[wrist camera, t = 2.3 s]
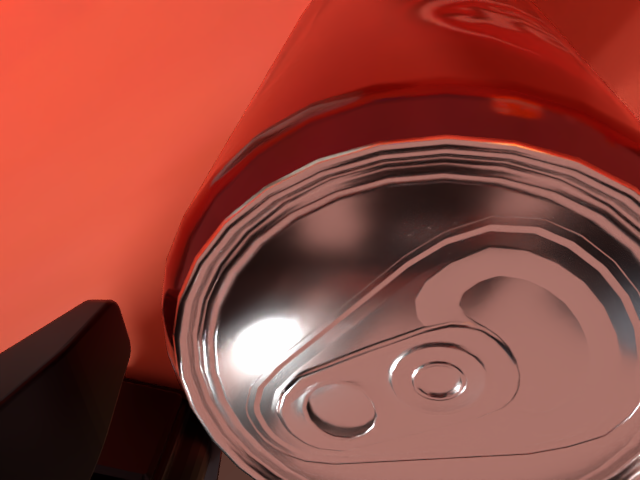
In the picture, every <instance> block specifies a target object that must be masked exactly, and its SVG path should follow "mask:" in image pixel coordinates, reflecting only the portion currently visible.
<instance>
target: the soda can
mask: <svg viewBox="0 0 640 480" xmlns="http://www.w3.org/2000/svg"><path fill="white" fill-rule="evenodd" d="M161 306H162V316H163V324H164V332H165V340H166V348H167V353H168V355H169V358H170V361H171V363H172V366H173V369H174V371H175V374H176V377H177V379H178V382H179V385H180V387H181V389H182V390H183V392H184V394H185V395H186V397H187V400H188V402H189V405H190V407H191V409H192V410H193V412H194V414H195V415H196V417H197V418H198V420H199V421H200V423H201V424H202V426H203V427H204V429H205V430H206V432H207V434H208V435H209V437H210V438H211V440H212V441H213V442H214V443H215V444H216V445H217V446H218V447H219V448H220V449H221V450H222V451H223V452H224V454H225V455H226V456H228V458H229V459H230V460H231V461H232V462H233V463H234V464H235V465H236V466H237V467H238V468H239V469H241V470H242V471H243V472H245V473H246V474H247V475H249V476H250V477H251V478H253V479H254V480H640V122H639V120H638V119H637V118H636V117H635V116H634V115H633V114H632V113H631V111H630V110H629V109H628V108H627V107H626V106H625V105H624V104H623V103H622V101H621V100H620V99H619V98H618V97H617V96H616V95H615V94H614V92H613V91H612V90H611V89H610V88H609V87H608V86H607V85H606V84H605V82H604V81H603V80H602V79H601V78H600V77H599V76H598V75H597V73H596V72H595V71H594V70H593V69H592V68H591V67H590V66H589V65H588V63H587V62H586V61H585V60H584V59H583V58H582V57H581V56H580V55H579V53H578V52H577V51H576V50H575V49H574V48H573V47H572V46H571V44H570V43H569V42H568V41H567V40H566V39H565V38H564V37H563V36H562V34H561V33H560V32H559V31H558V30H557V29H556V28H555V27H554V25H553V24H552V23H551V22H550V21H549V20H548V19H547V18H546V17H545V15H544V14H543V13H542V12H541V11H540V10H539V9H538V8H537V6H536V5H535V4H534V3H533V2H532V1H531V0H312V1H311V2H310V4H309V5H308V7H307V8H306V9H305V11H304V12H303V14H302V15H301V17H300V18H299V20H298V22H297V23H296V25H295V27H294V29H293V30H292V32H291V34H290V35H289V37H288V39H287V40H286V42H285V44H284V46H283V47H282V49H281V51H280V52H279V54H278V56H277V58H276V59H275V61H274V63H273V64H272V66H271V68H270V69H269V71H268V73H267V75H266V76H265V78H264V80H263V81H262V83H261V85H260V87H259V88H258V90H257V92H256V93H255V95H254V97H253V98H252V100H251V102H250V104H249V105H248V107H247V109H246V110H245V112H244V114H243V116H242V117H241V119H240V121H239V122H238V124H237V126H236V128H235V129H234V131H233V133H232V134H231V136H230V138H229V139H228V141H227V143H226V145H225V146H224V148H223V150H222V151H221V153H220V155H219V157H218V158H217V160H216V162H215V163H214V165H213V167H212V168H211V170H210V172H209V174H208V175H207V177H206V179H205V180H204V182H203V184H202V186H201V187H200V189H199V191H198V192H197V194H196V196H195V197H194V199H193V201H192V203H191V204H190V206H189V208H188V209H187V211H186V213H185V215H184V216H183V219H182V221H181V224H180V226H179V229H178V231H177V234H176V236H175V239H174V241H173V244H172V246H171V249H170V251H169V254H168V256H167V259H166V266H165V274H164V282H163V290H162V298H161Z"/></svg>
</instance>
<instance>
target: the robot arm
mask: <svg viewBox="0 0 640 480" xmlns="http://www.w3.org/2000/svg"><path fill="white" fill-rule="evenodd" d="M130 352H131V346H130V340H129V336H128V333H127V330H126V327H125V324H124V321H123V317H122V314H121V311H120V308H119V306H118V304H117V303H116V302H115V301H113V300H87V301H85V302H83V303H81V304H80V305H78V306H77V307H75V308H73V309H72V310H70V311H68V312H67V313H65V314H64V315H62V316H60V317H59V318H57V319H55V320H54V321H52V322H51V323H49V324H47V325H46V326H44V327H42V328H41V329H39V330H38V331H36V332H34V333H33V334H31V335H29V336H28V337H26V338H25V339H23V340H21V341H20V342H18V343H17V344H15V345H13V346H12V347H10V348H8V349H7V350H5V351H4V352H2V353H0V480H218V475H219V468H220V462H221V454H222V450H221V449H220V448H219V447H218V446H217V445H216V444H215V443H214V442H213V441H212V440H211V438H210V437H209V435H208V434H207V432H206V430H205V429H204V427H203V426H202V424H201V423H200V421H199V420H198V418H197V417H196V415H195V414H194V412H193V410H192V409H191V407H190V405H189V402H188V400H187V397H186V395H185V394H184V392H183V391H181V390H177V389H172V388H168V387H163V386H158V385H154V384H149V383H144V382H140V381H135V380H130V379H126V378H124V375H125V372H126V369H127V365H128V362H129V358H130Z"/></svg>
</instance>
